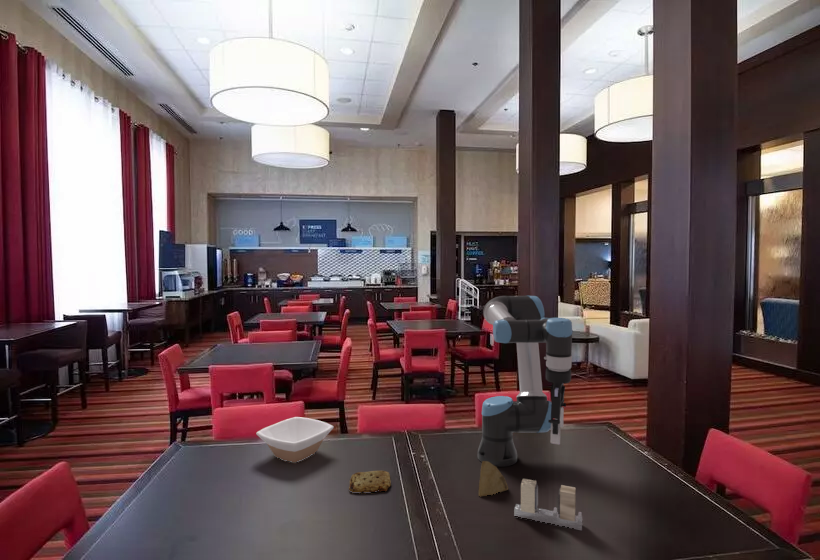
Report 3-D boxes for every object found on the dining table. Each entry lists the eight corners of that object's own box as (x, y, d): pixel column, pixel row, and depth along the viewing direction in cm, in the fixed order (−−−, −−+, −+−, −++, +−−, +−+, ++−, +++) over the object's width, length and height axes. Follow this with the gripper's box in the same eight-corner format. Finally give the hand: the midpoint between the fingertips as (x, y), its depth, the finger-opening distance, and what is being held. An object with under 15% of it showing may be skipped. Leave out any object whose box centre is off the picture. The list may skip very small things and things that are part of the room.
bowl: (339, 450, 187) (338, 425, 186) (293, 474, 166) (293, 446, 165) (297, 438, 199) (297, 414, 199) (250, 459, 179) (250, 433, 178)
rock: (509, 477, 158) (480, 470, 160) (512, 464, 152) (482, 458, 154) (506, 508, 150) (475, 501, 152) (509, 496, 144) (477, 489, 146)
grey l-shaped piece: (513, 517, 137) (514, 483, 137) (516, 510, 141) (516, 477, 140) (581, 531, 130) (582, 495, 129) (582, 523, 134) (582, 488, 133)
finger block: (559, 511, 136) (559, 484, 136) (575, 514, 134) (575, 487, 134) (558, 518, 132) (558, 491, 132) (574, 521, 131) (574, 494, 130)
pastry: (404, 483, 159) (404, 475, 159) (367, 503, 147) (367, 494, 147) (371, 468, 171) (371, 460, 171) (334, 485, 159) (333, 477, 158)
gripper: (549, 357, 155) (548, 418, 157) (541, 378, 132) (540, 449, 134) (573, 359, 152) (571, 421, 154) (568, 381, 129) (567, 453, 131)
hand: (557, 434), depth 144 cm, fingers open, 13 cm apart
